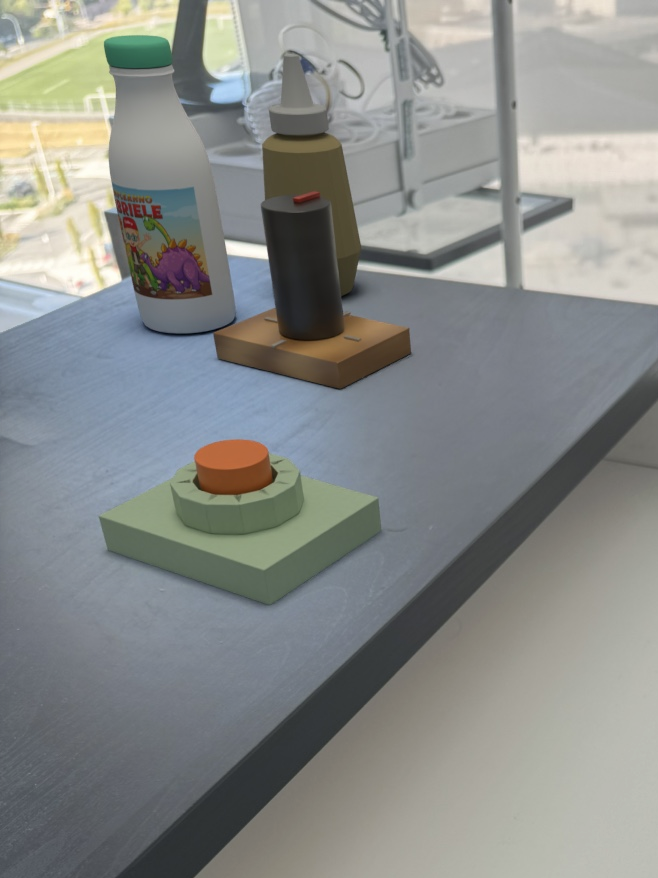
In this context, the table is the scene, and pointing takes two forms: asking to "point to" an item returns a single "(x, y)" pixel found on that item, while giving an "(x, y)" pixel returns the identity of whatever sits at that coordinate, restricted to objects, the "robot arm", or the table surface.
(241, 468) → the push button
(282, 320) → the knob
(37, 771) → the table surface
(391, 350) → the panel
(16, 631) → the table surface
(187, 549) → the green button base
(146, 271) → the milk bottle
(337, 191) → the squeeze bottle
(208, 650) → the table surface
